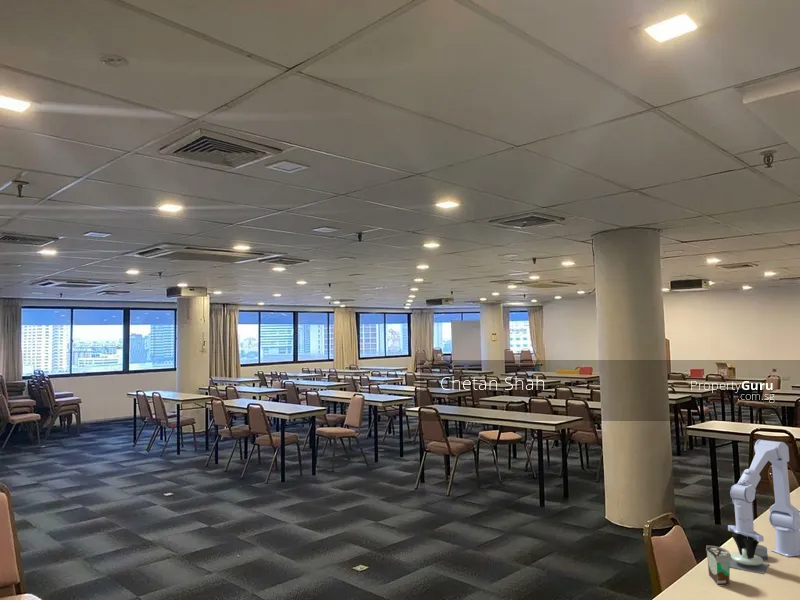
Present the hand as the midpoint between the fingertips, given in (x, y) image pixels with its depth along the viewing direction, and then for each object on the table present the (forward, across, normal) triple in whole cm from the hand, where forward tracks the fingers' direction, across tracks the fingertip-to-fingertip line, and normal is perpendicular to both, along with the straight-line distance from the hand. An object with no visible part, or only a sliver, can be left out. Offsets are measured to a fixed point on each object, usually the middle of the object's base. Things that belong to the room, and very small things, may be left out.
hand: (746, 556), depth 217 cm
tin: (+3, -8, +10) cm, 13 cm away
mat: (+3, 0, 0) cm, 3 cm away
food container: (+4, +10, -19) cm, 22 cm away
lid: (+2, 0, 0) cm, 2 cm away
